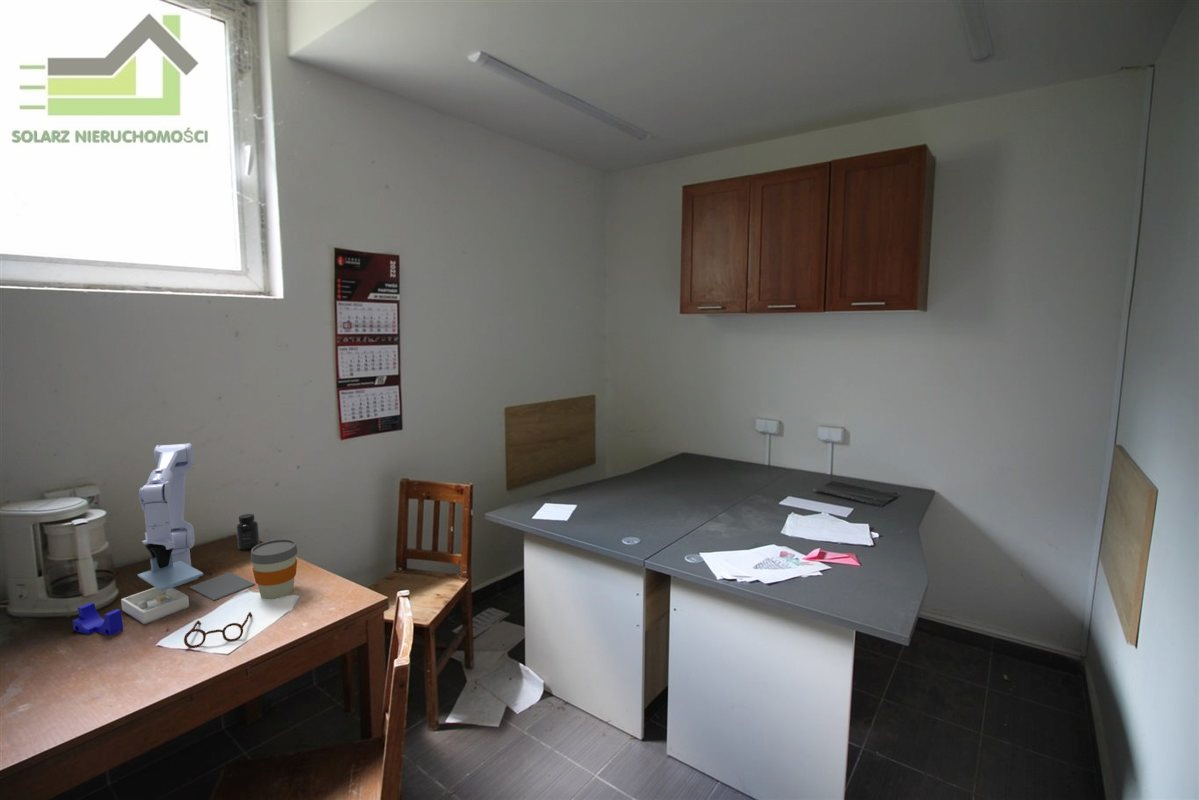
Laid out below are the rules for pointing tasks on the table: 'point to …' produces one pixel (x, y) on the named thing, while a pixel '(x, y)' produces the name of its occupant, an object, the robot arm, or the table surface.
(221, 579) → the mat
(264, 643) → the table surface
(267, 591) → the reusable coffee cup
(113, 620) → the cable clip
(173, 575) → the lid
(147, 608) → the tub
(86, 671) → the table surface
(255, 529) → the supplement bottle
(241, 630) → the glasses
